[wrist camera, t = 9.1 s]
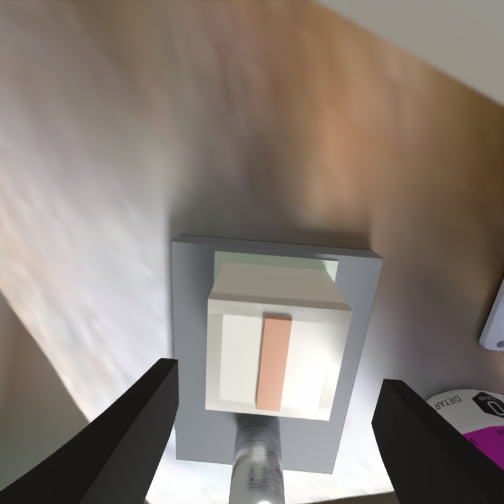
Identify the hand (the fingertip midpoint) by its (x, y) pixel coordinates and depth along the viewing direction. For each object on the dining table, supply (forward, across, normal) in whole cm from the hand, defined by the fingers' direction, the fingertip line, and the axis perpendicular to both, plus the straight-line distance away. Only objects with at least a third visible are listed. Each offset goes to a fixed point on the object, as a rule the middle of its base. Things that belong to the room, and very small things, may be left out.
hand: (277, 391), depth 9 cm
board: (+7, 0, +4) cm, 8 cm away
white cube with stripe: (+6, 0, 0) cm, 6 cm away
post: (+6, 0, +8) cm, 10 cm away
